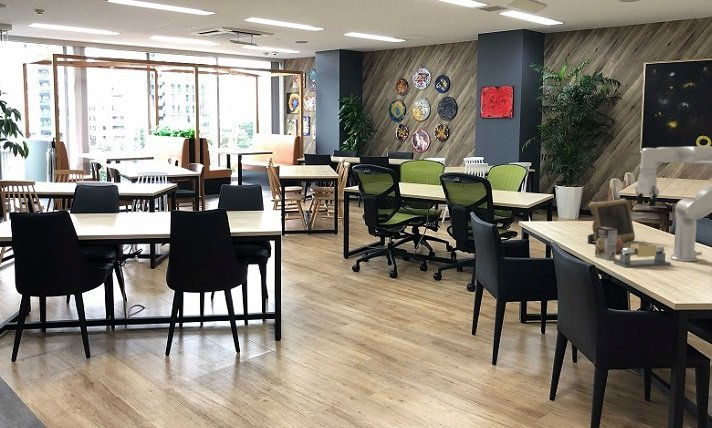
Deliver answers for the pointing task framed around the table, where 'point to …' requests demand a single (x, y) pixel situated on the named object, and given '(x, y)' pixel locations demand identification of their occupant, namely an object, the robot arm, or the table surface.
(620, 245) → the decorative rock
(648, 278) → the table surface
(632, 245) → the coupler
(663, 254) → the shaft rig
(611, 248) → the coffee box
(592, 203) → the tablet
